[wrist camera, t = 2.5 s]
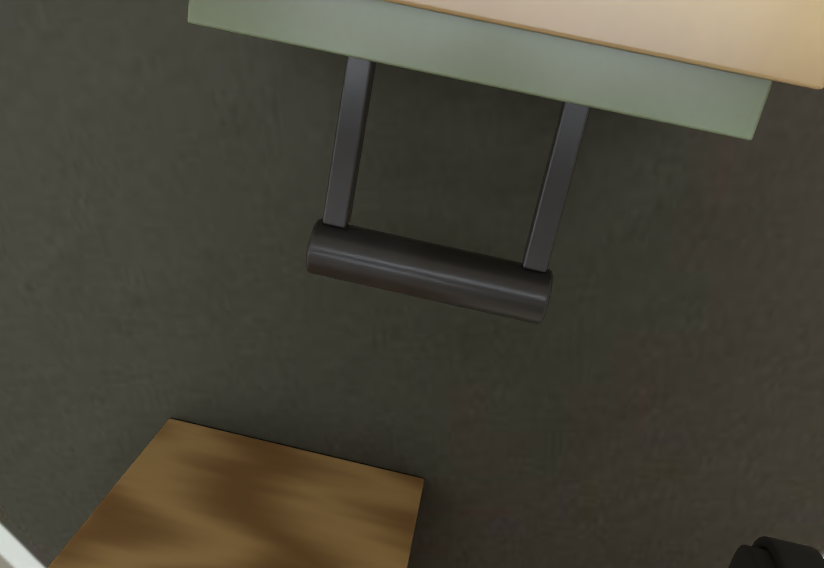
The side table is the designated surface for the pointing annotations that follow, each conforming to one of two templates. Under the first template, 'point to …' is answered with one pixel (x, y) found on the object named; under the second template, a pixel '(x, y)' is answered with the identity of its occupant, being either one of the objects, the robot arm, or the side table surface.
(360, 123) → the drawer
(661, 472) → the side table surface
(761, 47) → the cabinet
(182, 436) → the oak stand
